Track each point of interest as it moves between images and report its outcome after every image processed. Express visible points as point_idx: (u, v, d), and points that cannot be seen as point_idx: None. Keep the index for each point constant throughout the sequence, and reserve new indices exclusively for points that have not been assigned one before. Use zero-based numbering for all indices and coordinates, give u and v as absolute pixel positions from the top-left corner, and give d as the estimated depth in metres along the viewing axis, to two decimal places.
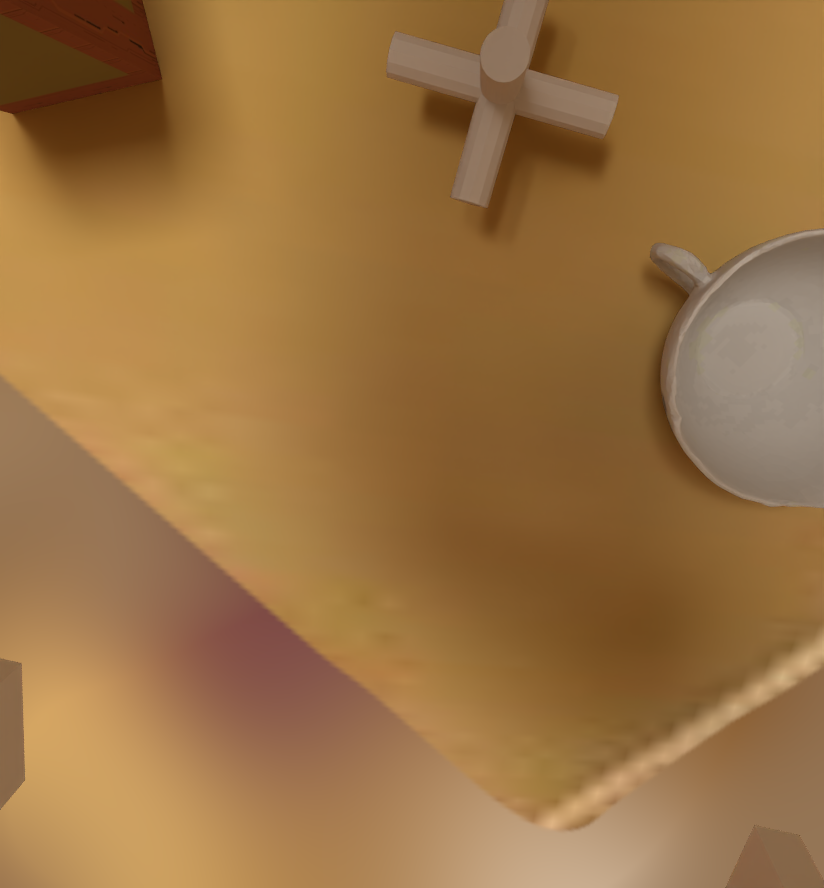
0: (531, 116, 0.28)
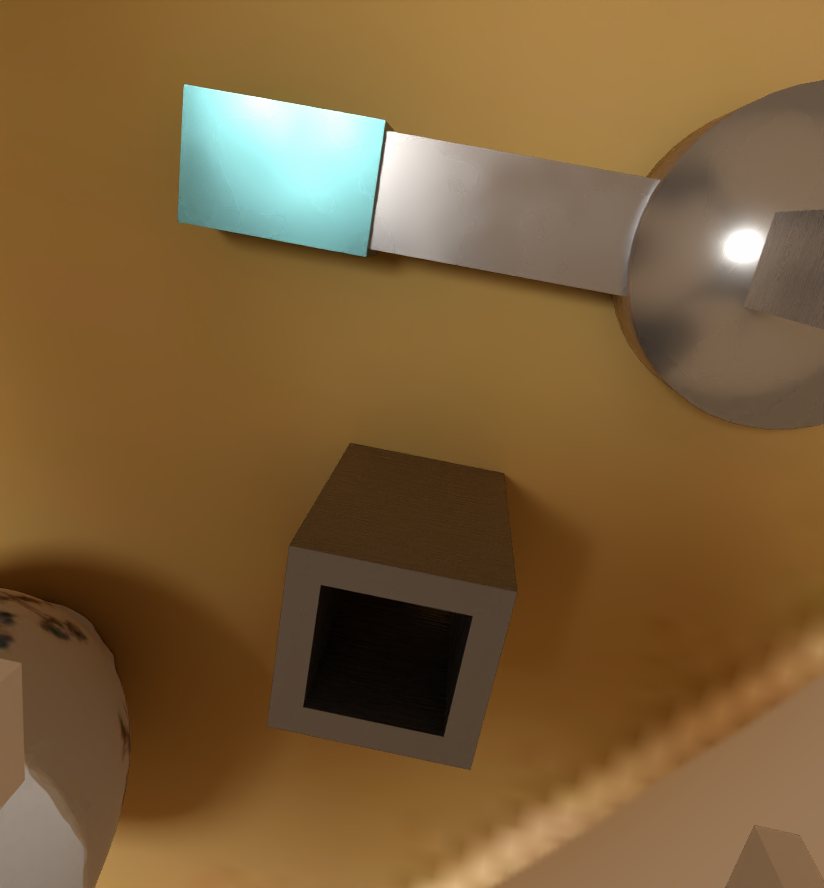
0: None
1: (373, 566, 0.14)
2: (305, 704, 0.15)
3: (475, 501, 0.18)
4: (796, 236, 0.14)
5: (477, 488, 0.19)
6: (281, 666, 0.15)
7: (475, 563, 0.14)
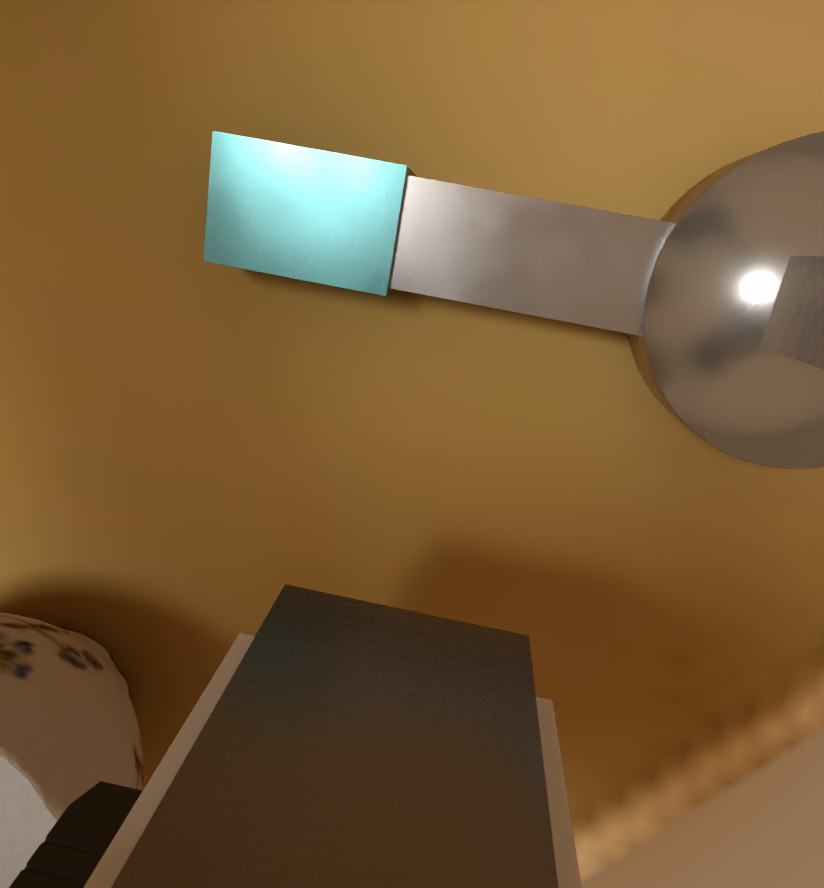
0: None
1: None
2: None
3: (483, 721, 0.10)
4: (812, 281, 0.14)
5: (486, 682, 0.11)
6: None
7: None
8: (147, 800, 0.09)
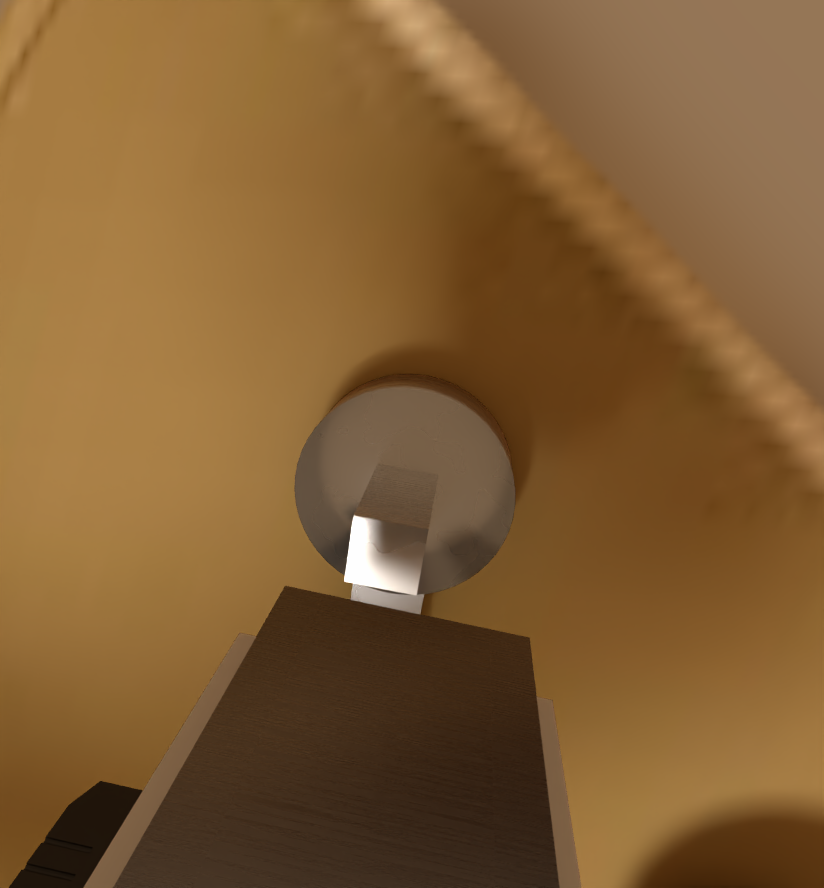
0: None
1: None
2: None
3: (484, 723, 0.10)
4: None
5: (487, 684, 0.11)
6: None
7: None
8: (147, 800, 0.09)
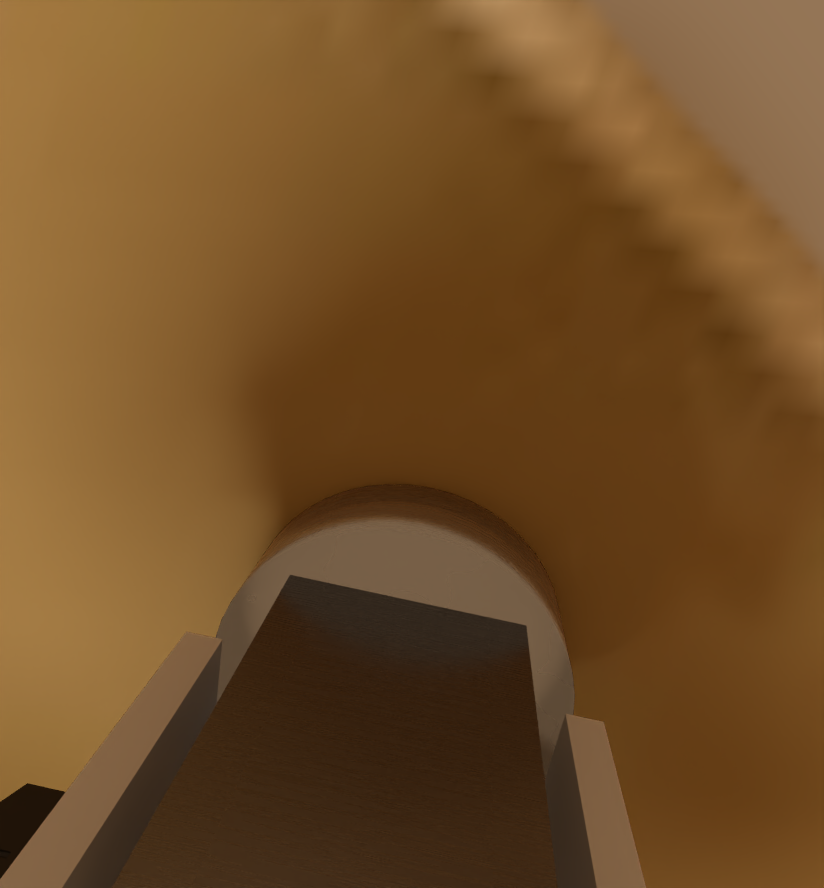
0: None
1: None
2: None
3: (482, 705, 0.11)
4: None
5: (485, 668, 0.11)
6: None
7: None
8: (68, 803, 0.09)
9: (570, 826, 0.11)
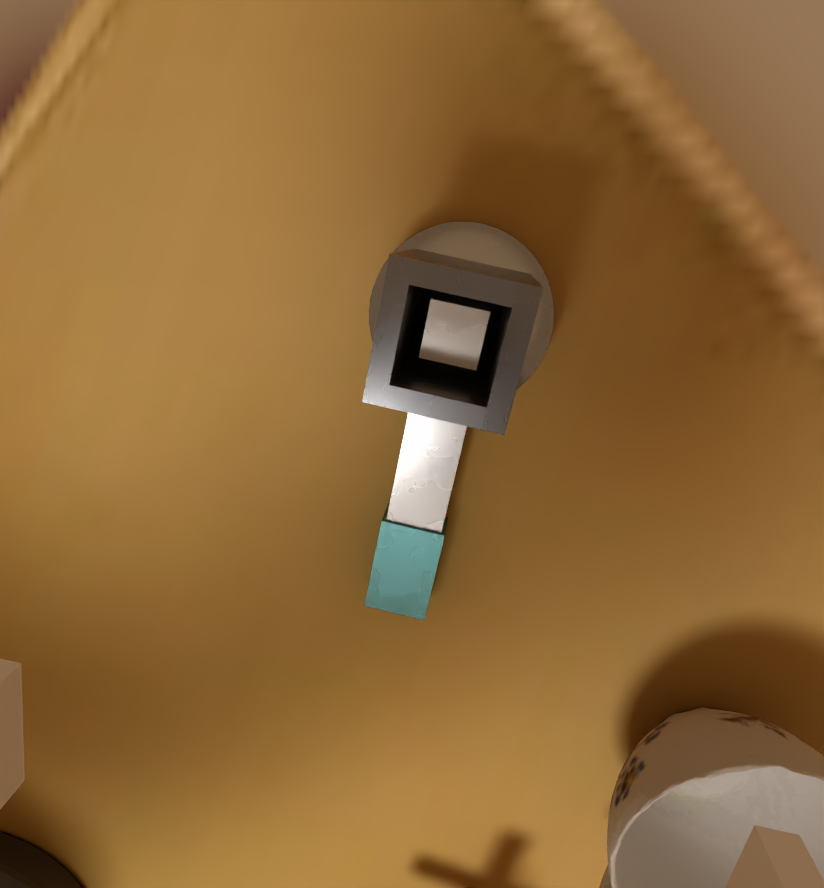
0: None
1: (446, 269, 0.20)
2: (390, 384, 0.22)
3: (511, 273, 0.24)
4: None
5: (512, 272, 0.25)
6: (376, 351, 0.21)
7: (514, 279, 0.21)
8: None
9: None
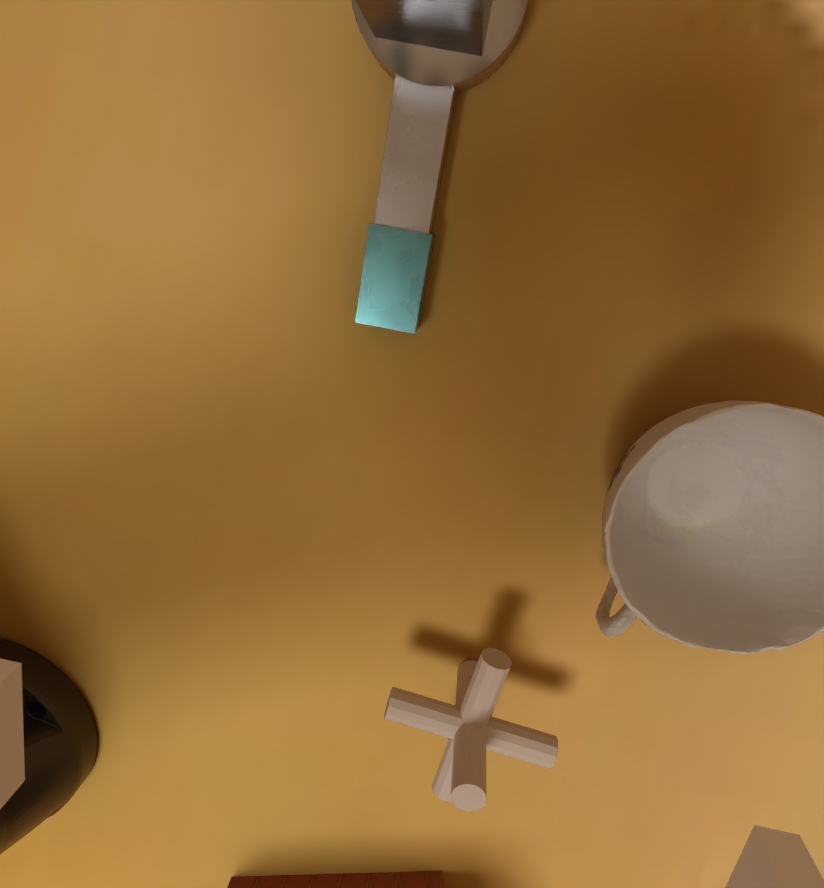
0: None
1: None
2: None
3: None
4: None
5: None
6: None
7: None
8: None
9: None
